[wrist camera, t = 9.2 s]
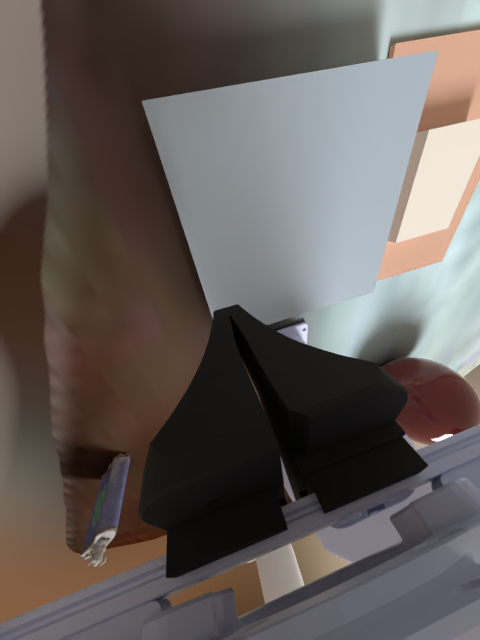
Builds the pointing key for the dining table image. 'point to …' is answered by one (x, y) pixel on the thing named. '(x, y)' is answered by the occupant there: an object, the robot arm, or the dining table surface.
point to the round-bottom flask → (434, 400)
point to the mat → (439, 110)
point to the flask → (106, 510)
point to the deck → (291, 180)
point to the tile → (435, 179)
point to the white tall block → (279, 573)
